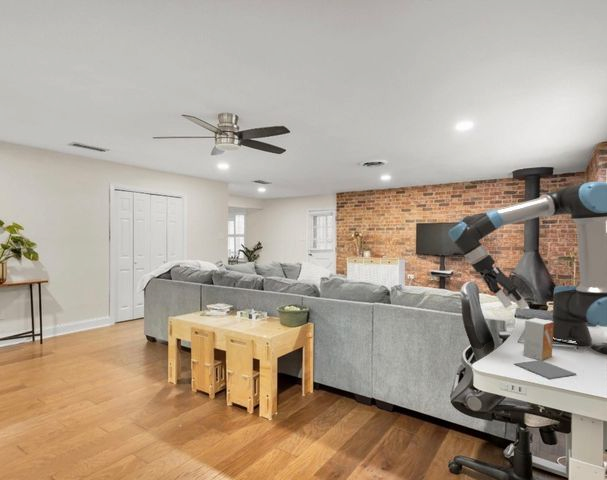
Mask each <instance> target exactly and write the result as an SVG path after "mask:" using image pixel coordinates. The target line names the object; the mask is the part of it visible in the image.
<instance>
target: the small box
mask: <svg viewBox="0 0 607 480" xmlns="http://www.w3.org/2000/svg"><path fill="white" fill-rule="evenodd" d="M553 327H554V322H552V320H547V319H542V318H538V317H534V318H529V319H527V320H525V321H524V338H523V339H524V341H523V342H524V343H523V344H524V345H523V354H522V355H523V356H525V357H529V358H532V359H535V360H542V361H544V360H546V359H550V358H552V356H553V343H554V340H553Z"/></svg>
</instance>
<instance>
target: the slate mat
mask: <svg viewBox="0 0 607 480" xmlns="http://www.w3.org/2000/svg"><path fill="white" fill-rule="evenodd" d="M514 365H515V366H517V367H519V368H521V369H524V370H526V371H529V372H531V373H534V374H536V375H538V376H540V375H541V377H542V378H545V377H546V379H547V378H548V380H554V379H560V378H566V377H572V376H577V373H575V372H573V371H570V370H567V369H565V368H562V367H560V366H557V365H554V364H552V363H550V362H546V361H544V360H538V359H536V360H532V361H523V362H522V361H521V362H515V363H514ZM553 378H554V379H553Z"/></svg>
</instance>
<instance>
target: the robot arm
mask: <svg viewBox="0 0 607 480" xmlns="http://www.w3.org/2000/svg"><path fill="white" fill-rule="evenodd" d="M560 215H561V216H562V215H570V218H571V219H570V220H571V221H572V222H574V223H575V224H576V233H577V236H576V237H577V238H576V239H577V252H578V268H579V269H578V270H579V285H578V286H577V285H556V286H554V289H553V292H552V293H553V294H552V296H553V300H552V301H553V302H552V303H553V304H552V320H551V321H552V322H554V327H553V337H554V338H557V339H563V340H572V341H576V343H577V345H576V346H590V345H592V342H593V341H592V340H593V339H592V336H591V332H590V330H589V326H588V323H589V324H591V325H593V326H599V327H603V328H607V227H606V224H607V182H605V181H590V182H585V183H579V184H575V185H574V184H573V185H567V186H565V187H562V188H560V189H557V190H554V191H551V192H547V193H544V194H542V195H540V196H539V197H537V198H534V199H531V200H526V201H522V202H518V203H514V204H511V205H507V206H504V207H500V208H495V209H494V208H493V209H492V208H491V209H490V210H488V211H484V212H480V213H477V214H476V213H475V214H473V215H467V216H466V215H465V216H464V217H462V218H461V219H460V220H459V222H458V224H456V225H455V226H454V227H452V228H451V229H449V230H448V233H447V234H448V236H449V238H450V239H451V241H452V243H454V244H455V245H456V247H457V249H459V251H460V252H461V253H462V255H463V256H464V259H465V261H468V263H470V264H472V265H471V266H472V268H473V269H474V270H475V272H476V273H478V274H479V275H481V277H482V278H483V280H484V283H485V284H486V286H487V288H488V290H489V291H490V292H491V293H493V294H494V295H495V296H496V298H497V299H498V300H499V302H500V303H501V304H502V306H503V307H504V308H505V309H507V308H509V307H510V306H512V305H513V303H512V302H511V300H510V299H509V298H508V297H507V295H508V296H509V297H511V299H512V300H513V301H514V302H515V304H516V305H517V306H518V307H519V309H520V310H521V311H522V310H524V309H526V308H528V307H530V306H529V304H528V303H527V301H526V300H525V298H524V297H523V296H522V295H521V294H520V292H519V291H518V289H519V287H518V286H517V285H516V284H515V283H514V282H513V281H512V280H511V279H509V277H508V276H507V275H506V274H504V272H503V271H502V270H501V269H500V268H499V267H498V266H496V267H495V268H494V266H493V265H494V264H495V263H496V261H495V260H494V258H493V257H492V256H491V254H489V252H488V251H487V249H486V248H485V246H484V245H483V244H482V243H481V242H480V241H481V240H482V239H484V238H485V237H487V236H488V235H490V234H492V233H494V232H495V231H496V230H498V229H499V228H501V227H503V226H508V225H511V224H516V223H520V222H524V221H527V220H528V221H529V220H533V219H536V218H539V217H543V216H545V217H546V218H547V217H548V218H549V217H555V216H560ZM499 285H500V286H501V287H502V288H503V289H504V290H506V292H507V295H506V294H505V293H504V291H503V289H502V288H501V287H500V286H499Z"/></svg>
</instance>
